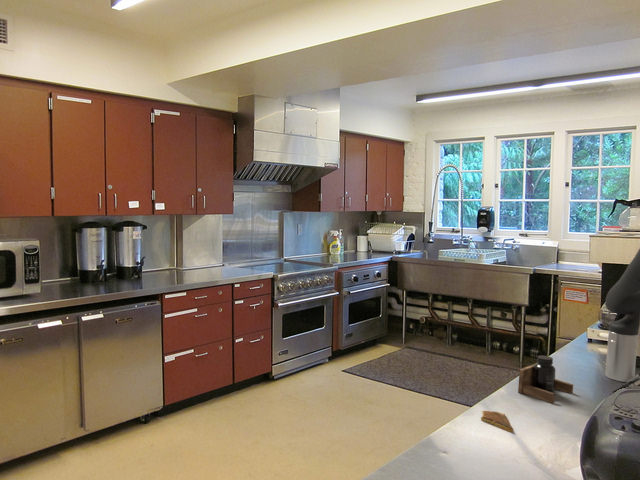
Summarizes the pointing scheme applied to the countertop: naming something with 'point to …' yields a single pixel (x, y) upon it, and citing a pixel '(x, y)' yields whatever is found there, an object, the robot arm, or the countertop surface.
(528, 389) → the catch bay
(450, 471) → the countertop surface
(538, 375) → the supplement bottle
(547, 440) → the countertop surface
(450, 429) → the countertop surface
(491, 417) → the shard
